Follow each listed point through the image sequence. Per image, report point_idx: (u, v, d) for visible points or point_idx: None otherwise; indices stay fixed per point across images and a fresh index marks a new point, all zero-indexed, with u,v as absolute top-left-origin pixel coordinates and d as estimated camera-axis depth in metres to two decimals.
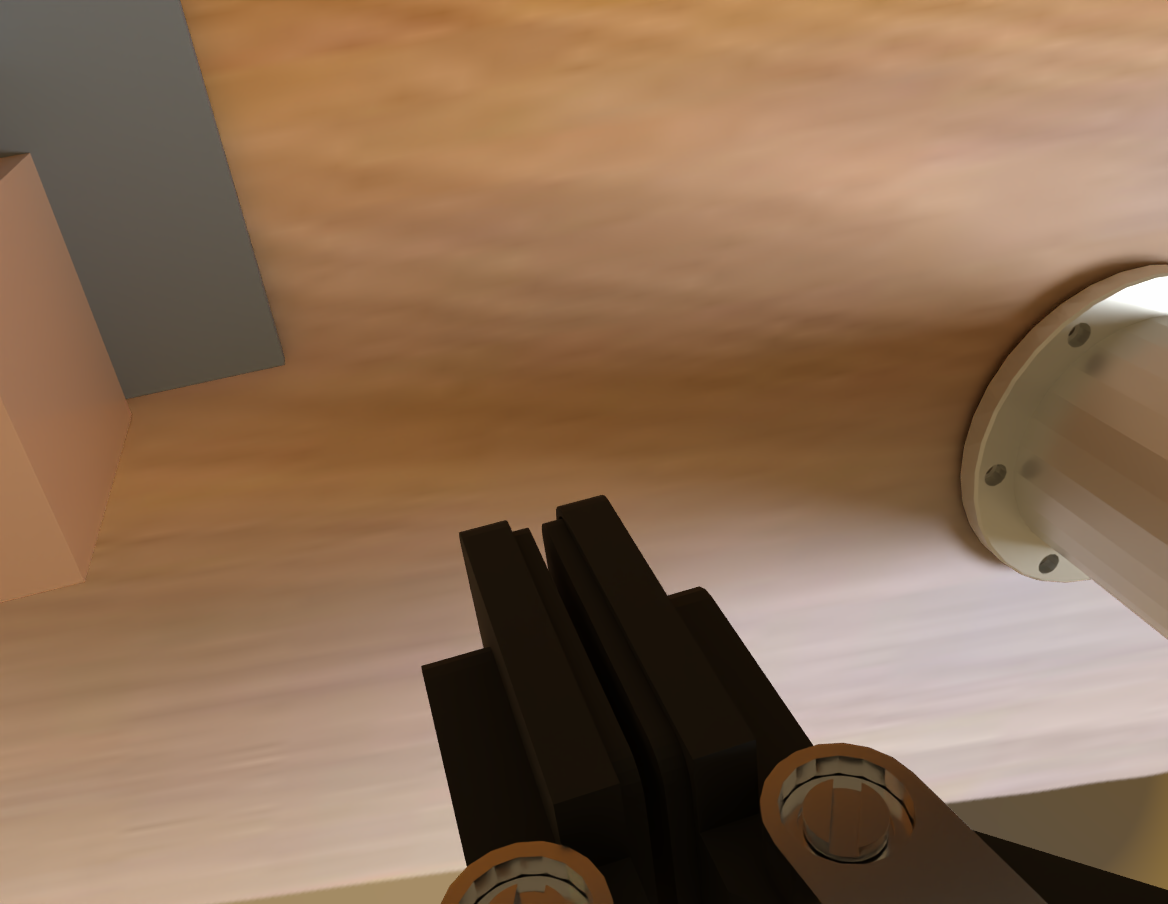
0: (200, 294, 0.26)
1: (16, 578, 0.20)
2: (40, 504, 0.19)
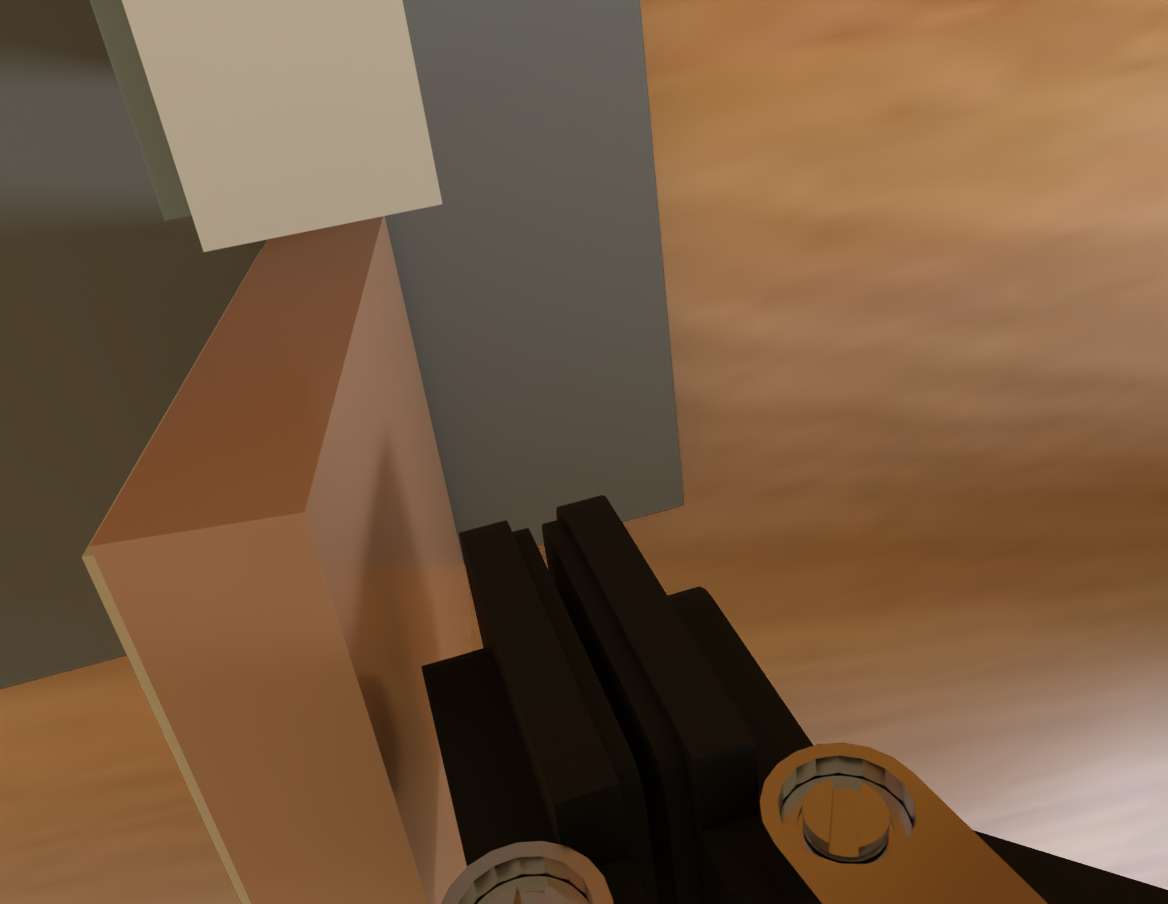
0: (590, 411, 0.17)
1: None
2: None
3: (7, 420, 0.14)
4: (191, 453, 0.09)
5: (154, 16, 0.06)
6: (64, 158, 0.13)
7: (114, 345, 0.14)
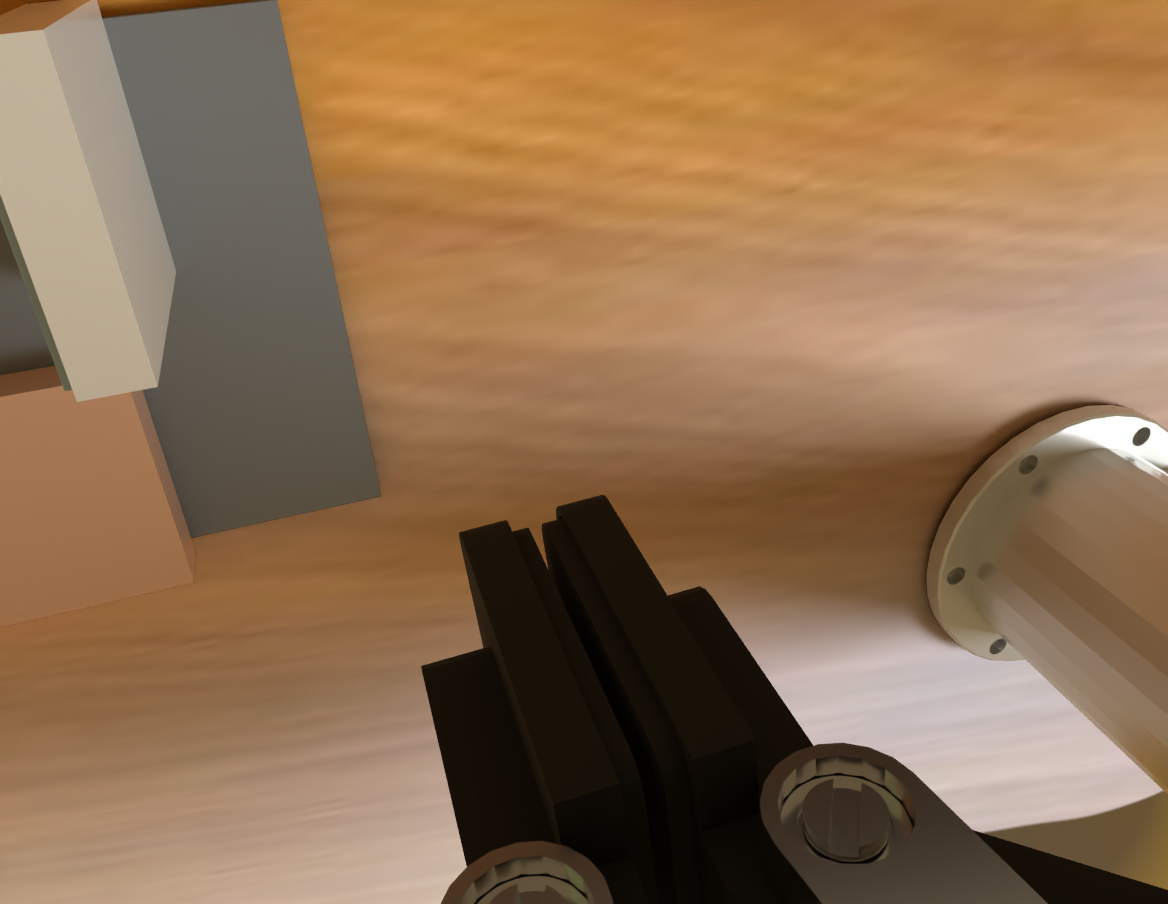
0: (319, 443, 0.31)
1: None
2: None
3: None
4: None
5: (61, 337, 0.20)
6: (31, 315, 0.27)
7: None
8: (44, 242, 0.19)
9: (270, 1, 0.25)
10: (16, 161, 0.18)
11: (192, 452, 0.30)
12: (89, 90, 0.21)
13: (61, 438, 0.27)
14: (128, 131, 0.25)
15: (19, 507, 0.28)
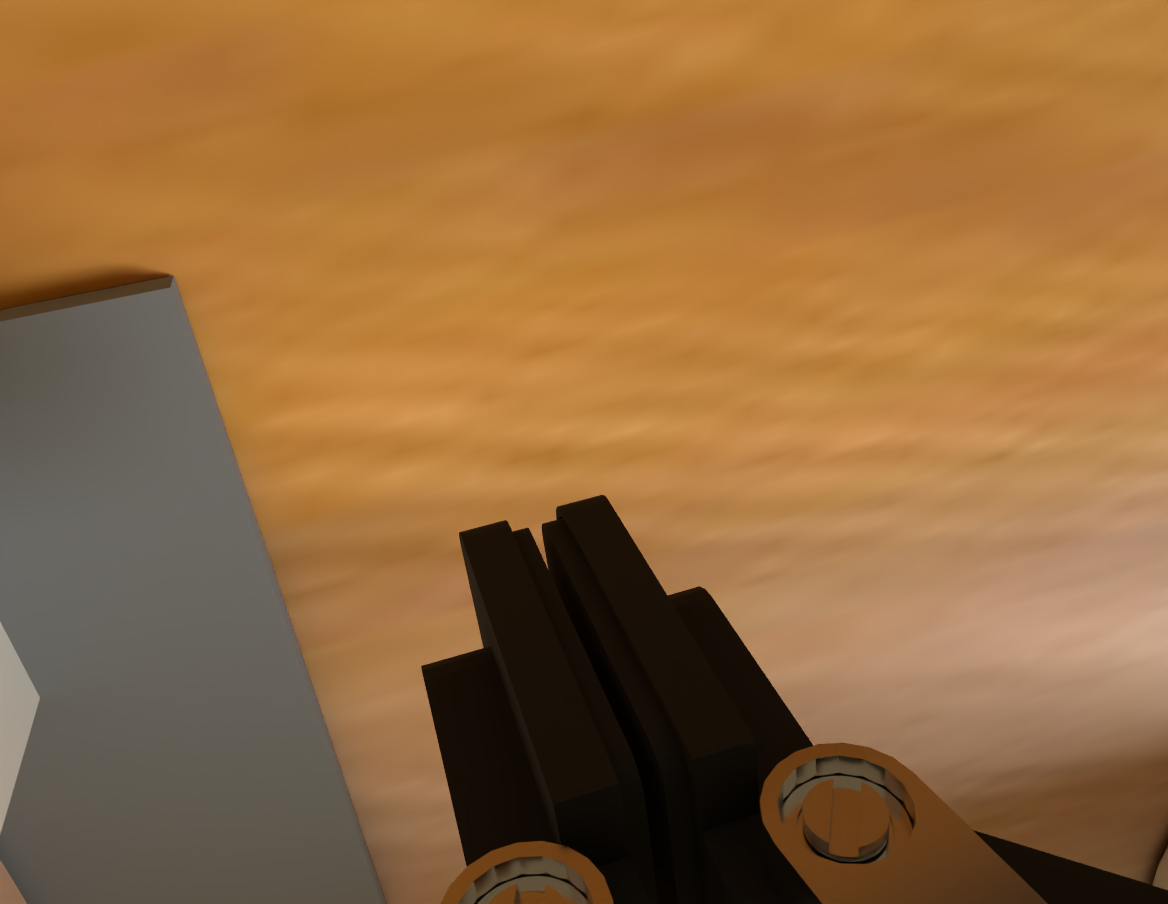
0: (292, 882, 0.21)
1: None
2: None
3: None
4: None
5: None
6: None
7: None
8: None
9: (159, 290, 0.15)
10: None
11: None
12: None
13: None
14: None
15: None
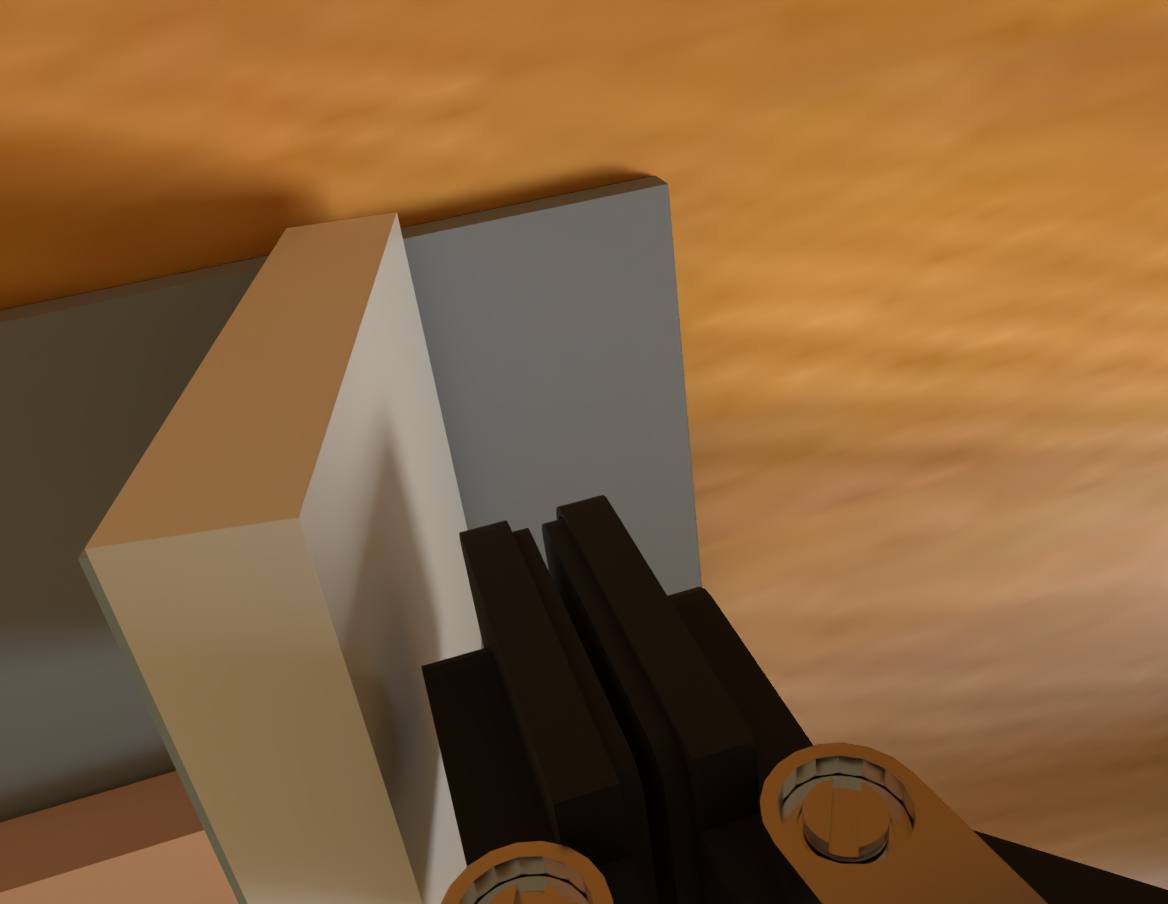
0: None
1: None
2: None
3: None
4: (22, 834, 0.17)
5: None
6: None
7: None
8: (280, 864, 0.09)
9: (657, 186, 0.16)
10: (231, 745, 0.08)
11: None
12: (382, 481, 0.11)
13: None
14: (433, 433, 0.15)
15: None
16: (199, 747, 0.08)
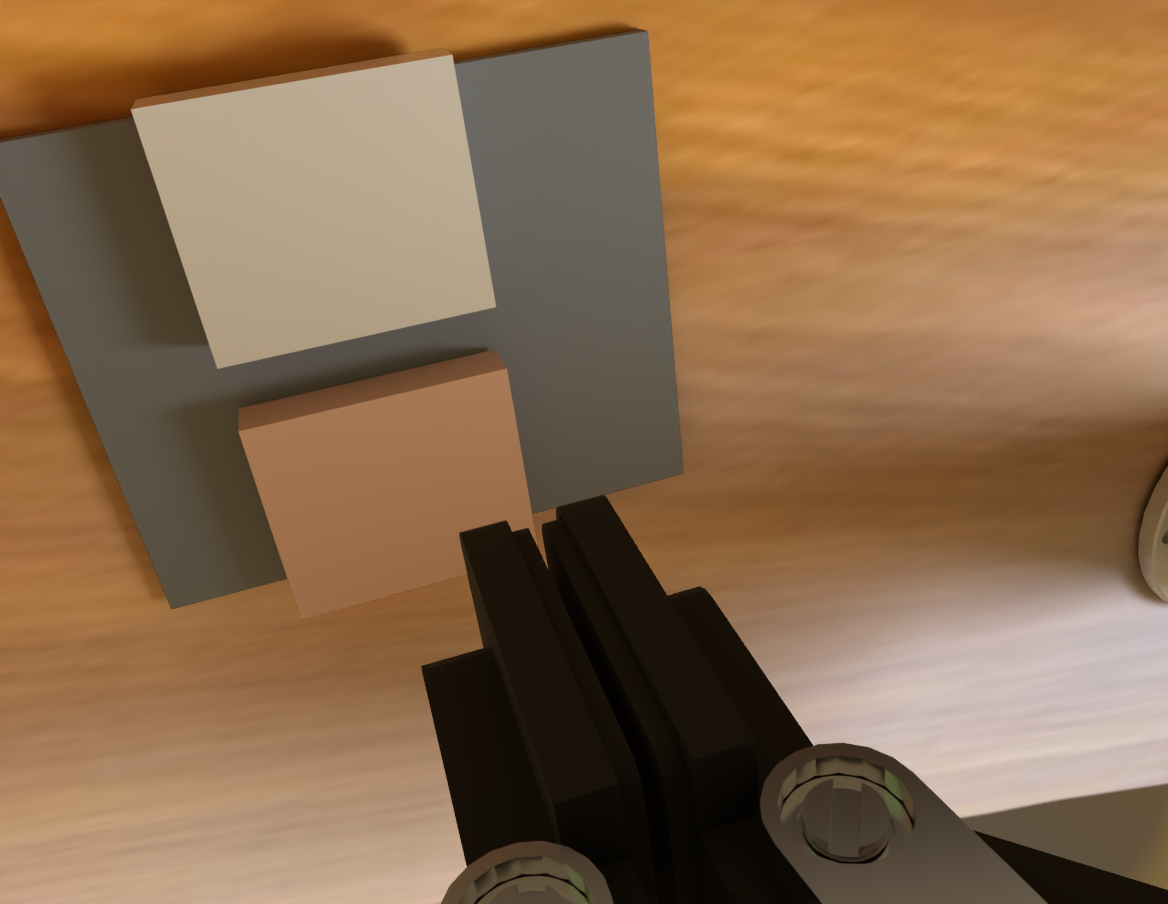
0: (637, 426, 0.35)
1: None
2: (285, 570, 0.31)
3: None
4: (281, 404, 0.30)
5: None
6: None
7: None
8: None
9: (642, 32, 0.29)
10: None
11: (533, 438, 0.34)
12: (266, 147, 0.26)
13: (449, 427, 0.31)
14: (426, 178, 0.27)
15: (408, 490, 0.31)
16: None
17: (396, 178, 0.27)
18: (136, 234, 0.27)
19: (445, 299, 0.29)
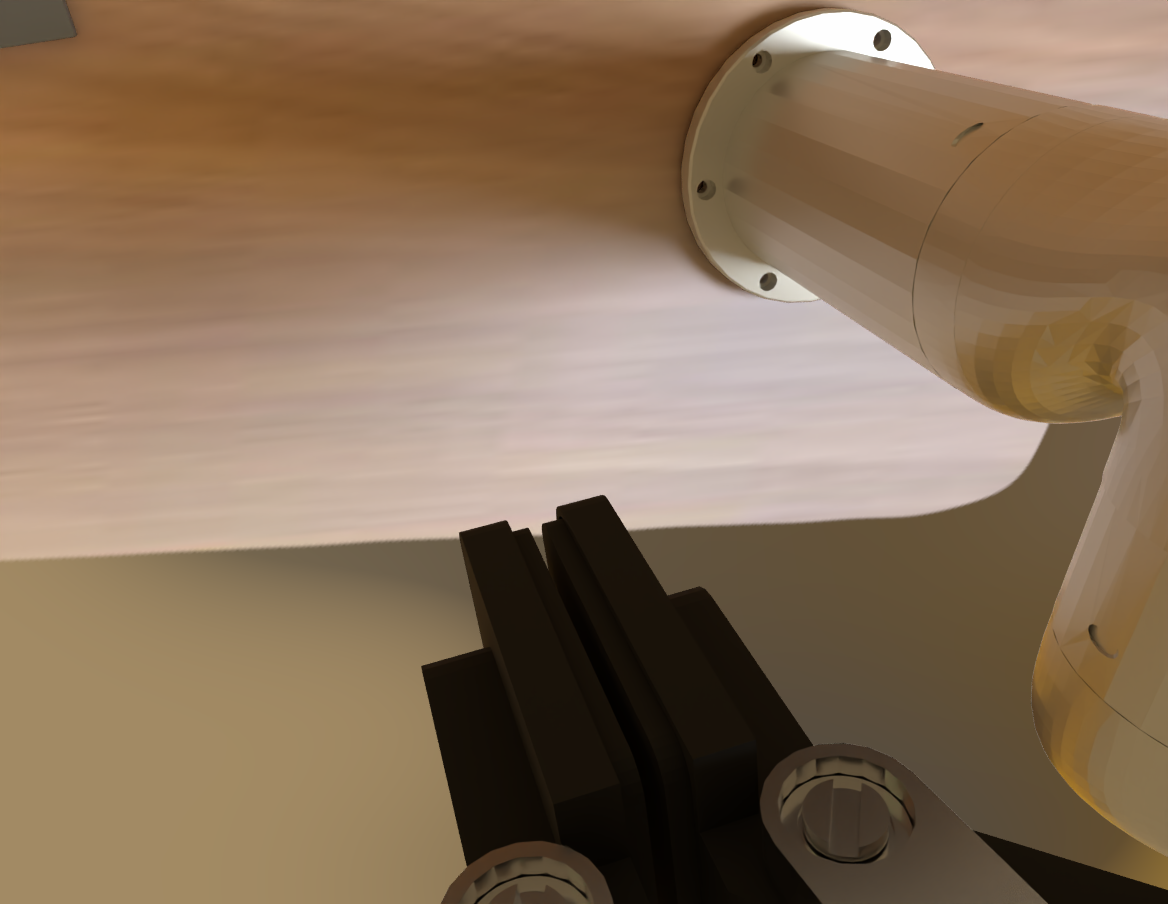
0: None
1: None
2: None
3: None
4: None
5: None
6: None
7: None
8: None
9: None
10: None
11: None
12: None
13: None
14: None
15: None
16: None
17: None
18: None
19: None
